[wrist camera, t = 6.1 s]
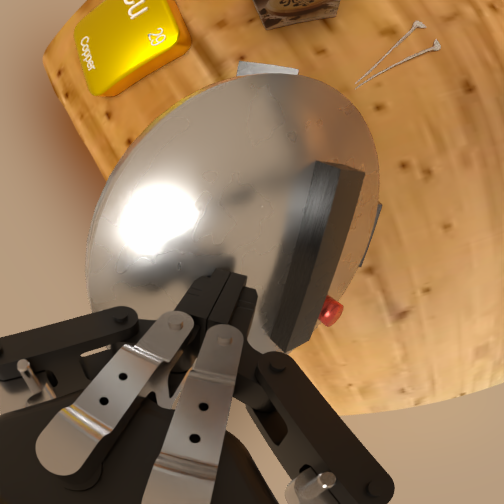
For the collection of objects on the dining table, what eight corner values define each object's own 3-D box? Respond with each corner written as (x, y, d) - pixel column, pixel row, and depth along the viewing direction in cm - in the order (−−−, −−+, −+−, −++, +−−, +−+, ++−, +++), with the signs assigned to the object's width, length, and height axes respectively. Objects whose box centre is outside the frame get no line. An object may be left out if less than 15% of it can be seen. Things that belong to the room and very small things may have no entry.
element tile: (87, 32, 27) (68, 27, 23) (165, -22, 23) (150, -33, 19) (109, 101, 33) (89, 102, 28) (197, 49, 28) (182, 40, 24)
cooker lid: (388, 119, 18) (420, 128, 16) (323, 326, 27) (343, 342, 25) (88, 41, 6) (97, 18, 4) (122, 411, 15) (138, 445, 13)
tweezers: (416, 20, 21) (421, 16, 19) (440, 48, 22) (446, 45, 20) (324, 86, 29) (325, 84, 27) (349, 114, 30) (352, 114, 28)
